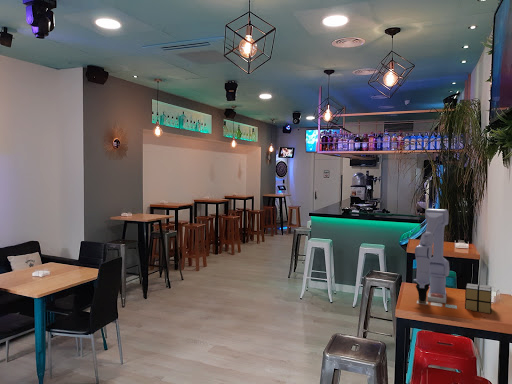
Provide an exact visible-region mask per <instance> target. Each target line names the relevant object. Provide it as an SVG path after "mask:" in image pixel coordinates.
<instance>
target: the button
mask: <svg viewBox="0 0 512 384" xmlns="http://www.w3.org/2000/svg"><path fill="white" fill-rule="evenodd" d="M431 297H438V298H442V297H443V295H442V294H440V293H432V295H431Z"/></svg>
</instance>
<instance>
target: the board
mask: <svg viewBox="0 0 512 384" xmlns="http://www.w3.org/2000/svg"><path fill="white" fill-rule="evenodd" d="M416 304H418V305H419V304H420V305H429V301H426V303H425V304H423V303H419V299H417V300H416ZM444 304H445V305H444V308H449V309H458V305H455V304H447V303H444ZM430 306H434V307H441V308H442V307H443V303H440V302H432V301H430Z"/></svg>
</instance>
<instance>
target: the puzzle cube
mask: <svg viewBox="0 0 512 384" xmlns="http://www.w3.org/2000/svg"><path fill="white" fill-rule="evenodd" d="M492 290H493V289H492V286H490V285H483V284H474V283H466V286H465V292H464V293H465V295H464V296H465V298H464V299H465V300H464V309H466V310H470V311H471V312H479V313H482V314H492V293H493V292H492Z"/></svg>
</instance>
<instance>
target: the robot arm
mask: <svg viewBox="0 0 512 384" xmlns="http://www.w3.org/2000/svg"><path fill="white" fill-rule="evenodd" d="M449 217H450V215H449V210H448V209H447V208H445V209H443V208H441V209H439V208H427V209H426V210H425V211H424V219H425V221H426V227H425V232H423V233H422V234H421V237H420V239H419V243H418V245H416V246H415V249H414V255H415V261H416V277H415V278H414V279H413V282H416V284H415V289H416V290H417V294H418V301H419V300H420V301H425V298H426V299H427V297H426V293H427V294H428V293H440V294H443V295H446V296H447V290H446V284H447V283H446V282H447V281H446V279H447V277H449V275H450V261H449V260H447V258H445V257H444V247H445V246H444V243H445V240H444V239H445V227H446V226H448V225H449V219H450V218H449Z"/></svg>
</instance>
